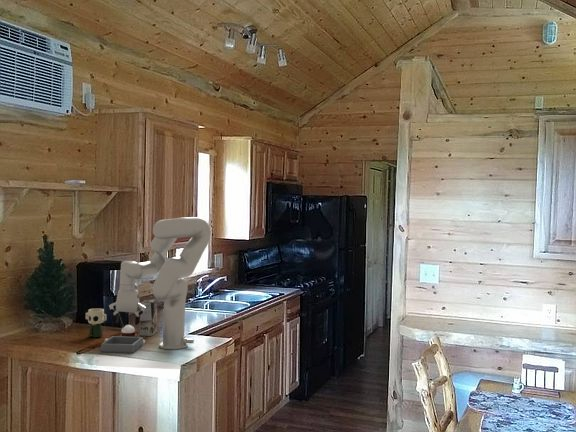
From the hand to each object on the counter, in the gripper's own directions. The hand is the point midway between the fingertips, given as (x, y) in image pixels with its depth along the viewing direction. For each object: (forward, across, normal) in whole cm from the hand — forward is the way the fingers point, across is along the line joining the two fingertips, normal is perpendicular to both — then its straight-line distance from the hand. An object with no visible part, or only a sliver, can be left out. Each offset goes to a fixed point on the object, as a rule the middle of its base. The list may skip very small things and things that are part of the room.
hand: (126, 323), depth 288 cm
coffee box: (+7, -7, -12) cm, 16 cm away
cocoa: (+7, -1, 0) cm, 7 cm away
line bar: (+7, -2, +8) cm, 11 cm away
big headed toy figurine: (+8, +15, -2) cm, 17 cm away
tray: (+7, -4, +17) cm, 19 cm away
